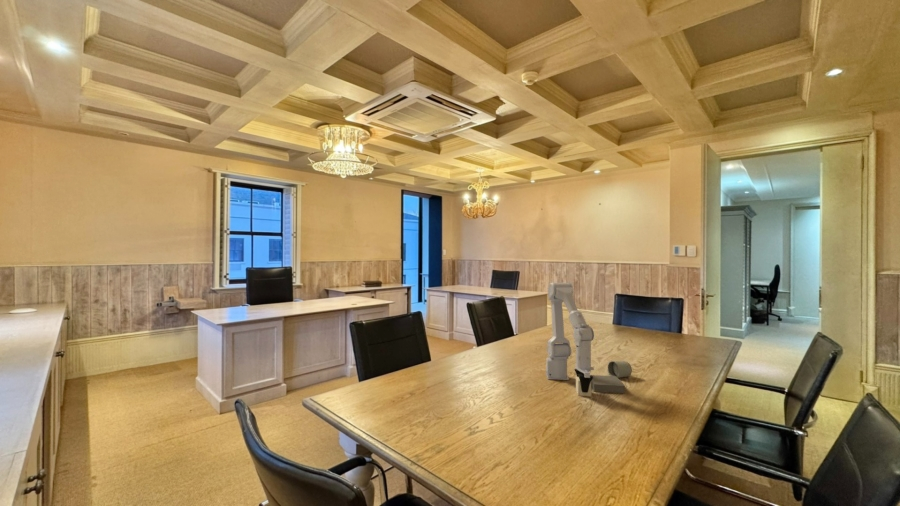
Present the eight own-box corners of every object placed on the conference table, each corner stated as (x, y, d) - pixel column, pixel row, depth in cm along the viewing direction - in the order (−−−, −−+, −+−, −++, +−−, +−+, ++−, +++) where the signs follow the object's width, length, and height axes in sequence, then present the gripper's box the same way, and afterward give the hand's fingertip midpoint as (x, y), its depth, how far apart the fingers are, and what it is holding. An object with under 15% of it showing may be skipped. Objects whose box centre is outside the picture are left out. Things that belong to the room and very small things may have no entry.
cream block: (578, 395, 148) (578, 380, 148) (575, 391, 153) (575, 376, 153) (591, 396, 147) (591, 381, 147) (588, 391, 152) (588, 377, 152)
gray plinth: (594, 391, 152) (594, 384, 152) (587, 381, 164) (587, 374, 164) (624, 393, 151) (624, 385, 151) (616, 383, 162) (616, 376, 162)
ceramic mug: (633, 378, 168) (633, 361, 169) (619, 380, 166) (618, 363, 166) (616, 371, 178) (616, 356, 179) (602, 373, 176) (602, 357, 176)
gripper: (598, 362, 142) (598, 397, 142) (589, 352, 157) (589, 383, 157) (579, 361, 143) (579, 395, 143) (572, 351, 158) (572, 383, 158)
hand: (583, 389), depth 150 cm, fingers closed on cream block, 5 cm apart
